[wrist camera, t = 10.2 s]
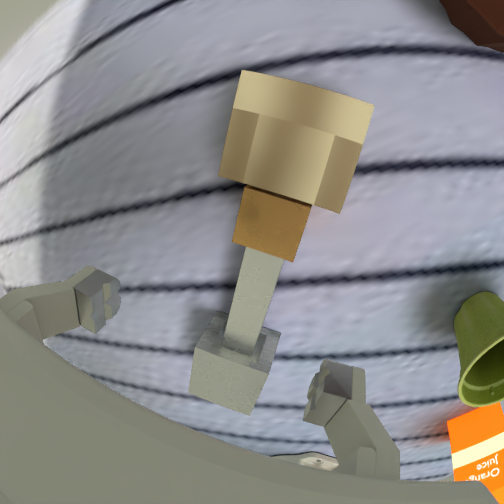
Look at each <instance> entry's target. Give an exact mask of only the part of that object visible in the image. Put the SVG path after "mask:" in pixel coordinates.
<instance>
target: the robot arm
mask: <svg viewBox="0 0 504 504" xmlns="http://www.w3.org/2000/svg"><path fill="white" fill-rule="evenodd" d="M119 289H120V281H119V280H118V279H117V278H115V277H113V276H111V275H109V274H107V273H105V272H103V271H101V270H98V269H96V268H94V267H93V266H86V267H85V268H83V269H82V270H80V271H79V272H77V273H76V274H75V275H73V276H72V277H70V278H69V279H67V280H66V281H65V282H61V281H59V282H53V283H48V284H42V285H36V286H30V287H25V288H19V289H13V290H12V291H11V292H9V293H8V294H6V295H5V296H4V297H2V298H1V299H0V504H499V502H498V501H497V500H496V498H495V497H494V496H493V494H492V493H491V492H490V491H489V489H488V488H487V487H486V486H485V485H484V484H483V483H482V482H480V481H478V480H467V481H408V480H400V451H399V450H398V448H397V446H396V445H395V443H394V442H393V440H392V439H391V437H390V436H389V434H388V433H387V431H386V429H385V428H384V426H383V425H382V423H381V422H380V420H379V419H378V417H377V416H376V414H375V413H374V411H373V410H372V408H371V407H370V405H369V404H366V390H365V370H364V369H361V368H357V367H354V366H349V365H346V364H342V363H339V362H335V361H332V360H328V359H325V360H324V361H323V362H322V364H321V366H320V372H318V373H316V374H315V376H314V378H313V380H312V382H311V384H310V387H309V391H308V395H307V397H308V399H309V402H308V403H307V405H306V406H305V411H304V417H303V421H306V422H309V423H312V424H316V425H319V426H323V427H324V429H325V431H326V434H327V436H328V439H329V441H330V444H331V446H332V449H333V451H334V454H335V456H336V459H335V458H332V457H329V456H325V455H322V454H319V453H314V452H312V453H305V454H301V455H283V456H274V457H270V456H266V455H263V454H260V453H256V452H253V451H250V450H247V449H244V448H241V447H238V446H235V445H232V444H229V443H226V442H224V441H221V440H218V439H216V438H213V437H210V436H208V435H205V434H203V433H200V432H198V431H195V430H193V429H191V428H188V427H186V426H184V425H181V424H179V423H177V422H175V421H172V420H170V419H168V418H166V417H164V416H162V415H160V414H158V413H156V412H153V411H151V410H149V409H147V408H145V407H143V406H142V405H140V404H138V403H136V402H134V401H132V400H130V399H128V398H126V397H125V396H123V395H121V394H119V393H118V392H116V391H114V390H112V389H111V388H109V387H107V386H105V385H104V384H102V383H100V382H99V381H97V380H96V379H94V378H92V377H91V376H89V375H88V374H86V373H84V372H83V371H81V370H80V369H78V368H77V367H75V366H74V365H72V364H71V363H69V362H68V361H66V360H65V359H63V358H62V357H61V356H59V355H58V354H56V353H55V352H54V351H52V350H51V349H49V348H48V347H47V346H45V345H44V343H43V339H45V338H48V337H51V336H54V335H57V334H60V333H62V332H65V331H68V330H71V329H74V328H76V327H79V326H80V325H81V326H82V327H84V328H86V329H88V330H90V331H91V332H93V333H95V334H96V333H97V332H98V331H99V330H100V329H101V328H102V327H103V326H105V325H106V320H107V319H111V318H113V317H114V316H115V315H116V313H117V311H118V310H119V308H120V303H121V297H120V295H119V294H118V292H117V291H118V290H119Z"/></svg>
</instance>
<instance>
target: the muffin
mask: <svg viewBox="0 0 504 504" xmlns="http://www.w3.org/2000/svg"><path fill="white" fill-rule="evenodd" d="M439 1H440V2H441V4H442V5H443V7H444V8H445V10H446V12H447V14H448V16H449V19H450V21H451V23H452V24H453V25H454V26H456V27H457V28H458V29H460V30H461V31H462V32H464V33H465V34H466V35H467V36H468V37H469V38H470V39H471V40H472V41H473V42H474V43H475V44H476V45H477V46H484V47H489V48H492V49H495V50H497V51H499V52H504V0H439Z"/></svg>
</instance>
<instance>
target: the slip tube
mask: <svg viewBox="0 0 504 504" xmlns="http://www.w3.org/2000/svg"><path fill="white" fill-rule="evenodd" d="M311 206H312V204H309V203H306V202H303V201H300V200H297V199H294V198H291V197H288V196H284V195H281V194H278V193H275V192H271V191H268V190H265V189H262V188H258V187H255V186H251V185H247V186H245V187H244V191H243V195H242V199H241V204H240V208H239V213H238V217H237V221H236V226H235V230H234V235H233V239H232V242H234V243H237V244H240V245H243V246H246V249H245V253H244V257H243V261H242V265H241V269H240V273H239V277H238V281H237V285H236V289H235V293H234V297H233V301H232V306H231V310H230V314H229V318H228V322H227V326H226V330H225V334H224V338H223V342H222V347H224V348H226V349H229V350H232V351H235V352H237V353H240V354H243V355H246V356H249V357H251V355H252V352H253V350H254V347H255V345H256V342H257V339H258V337H259V334H260V331H261V328H262V325H263V322H264V319H265V316H266V313H267V311H268V308H269V305H270V302H271V299H272V296H273V293H274V290H275V287H276V284H277V281H278V278H279V275H280V272H281V269H282V265H283V262H284V259H285V260H288V261H291V262H293V261H294V258H295V255H296V252H297V249H298V246H299V243H300V240H301V237H302V234H303V231H304V228H305V225H306V222H307V219H308V216H309V213H310V210H311Z"/></svg>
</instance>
